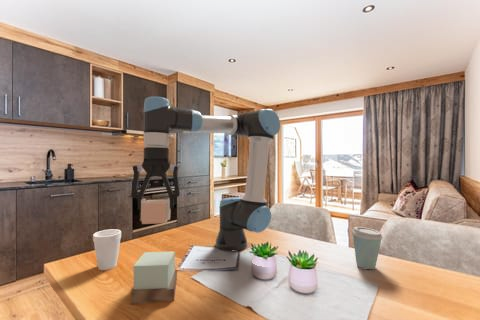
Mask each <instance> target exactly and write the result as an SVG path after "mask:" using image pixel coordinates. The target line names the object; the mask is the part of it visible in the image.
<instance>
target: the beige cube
mask: <svg viewBox="0 0 480 320" xmlns="http://www.w3.org/2000/svg"><path fill="white" fill-rule="evenodd" d="M167 222H168V220H167V199H145V202H144V203H143V204H142V221H141V225H150V224H167Z"/></svg>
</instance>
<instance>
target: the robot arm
mask: <svg viewBox="0 0 480 320" xmlns="http://www.w3.org/2000/svg"><path fill="white" fill-rule="evenodd" d="M143 104H144V105H143V146H144V148H143V160H142V161H143V162H142V164H140V165H139V164H138V165H133V166H132V170H133V171H132V172H133V179H132V187H131V193H130V197H131V198H134V199H136V200H137V210H139V211H140V221H141V222H142V204H143V203H144V202H145V201H146V198H144V195H145V193H146V190H147V188H148V185H149V183H150V180H151V178H152V177H160V178H161V180H162V181H163V183H164V184H163V185H164V187H165V188H166V189H165V191H167V195H168V198H167V199H166V200H167V221H170V220H171V210H172V209H174V207H175V198H179V196H180V195H181V193H180V184H179V176H178V173H179V172H178V171H179V166H178V165H173V164H171V163H170V158H169V157H170V155H169V154H170V149H169V146H170V134H227V136H241V137H247V139H248V141H249V142H250V144H249V152H248V153H249V154H248V164H247V172H246V173H247V174H246V181H245V182H246V183H245V189H244V191H245V192H244V195H243V196H235V197H234V196H233V197H224V198H222V199H221V200H220V202H219V231H218V234H217V237H216V240H215V247H216V248H217V249H219V250H222V251H225V252H233V251H232V250H238V251H241V250H244V249H246V248H247V246H248V240H247V236H246V233H245V230H246V231H248V232H251V233H262V232H264V231H265V230H267V229H266V228H267V227H269V225H270V223H271V219H272V211H271V209H270V208H269V207H268V200H267V199H266V198H265V194H266V193H265V191H266V182H267V172H268V162H269V161H268V160H269V152H270V151H269V150H270V144H271V143H273V142H274V136H276V135H277V134H279V132H280V130H281V121H280V118H279V116H278V114H277V112H276V111H275V110H273V109H271V108H265V109H264V108H262V109H258V110H254V111H253V110H252V111H248V112H242V113H239V114H228V115H226V116H219V115H204V114H203V115H202V114H201V113H202V112H200V111H199V110H194V109H192V108H191V109H189V108H182V107H176V106H175V107H174V106H171V105H170V100H169V99H168V98H166V97H163V96H148V97H145V99H144V103H143ZM142 169H143V170H144V172H145V177H144V180H143V183H142V185H141V188H140V190H139V185H140V184H139V183H140V174H141V171H142ZM169 169H170V171H171V172H172V177H173V185H174V191H173V189H172V187H171V185H170V181H169V179H168V175H167V171H168V170H169ZM138 190H139V192H138Z"/></svg>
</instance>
